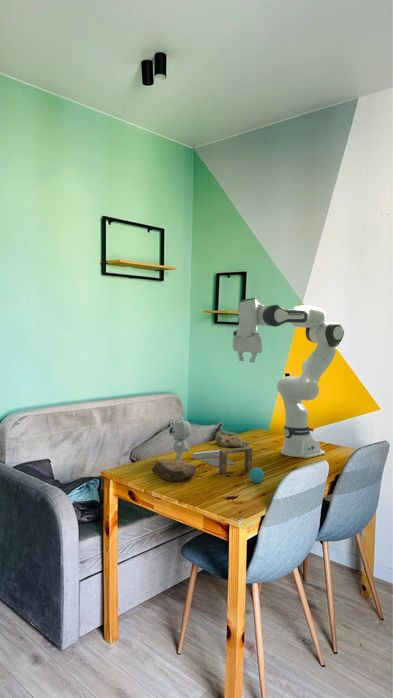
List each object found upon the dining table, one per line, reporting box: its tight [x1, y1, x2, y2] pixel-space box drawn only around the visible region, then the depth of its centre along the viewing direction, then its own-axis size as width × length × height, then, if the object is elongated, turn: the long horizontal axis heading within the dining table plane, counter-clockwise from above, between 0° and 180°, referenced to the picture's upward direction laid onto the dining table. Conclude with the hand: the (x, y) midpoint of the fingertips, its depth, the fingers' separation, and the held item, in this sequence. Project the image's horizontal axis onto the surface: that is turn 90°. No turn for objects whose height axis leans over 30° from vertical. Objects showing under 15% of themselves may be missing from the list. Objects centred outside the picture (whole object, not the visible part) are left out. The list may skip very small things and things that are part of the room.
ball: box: [248, 467, 265, 483], centre depth 192 cm, size 6×6×6 cm
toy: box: [169, 416, 192, 461], centre depth 222 cm, size 17×10×20 cm, turn 5°
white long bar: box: [192, 449, 221, 460], centre depth 230 cm, size 16×2×2 cm, turn 116°
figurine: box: [214, 431, 250, 448], centre depth 253 cm, size 12×8×20 cm
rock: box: [152, 458, 197, 482], centre depth 198 cm, size 20×7×15 cm
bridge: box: [218, 446, 253, 475], centre depth 207 cm, size 3×15×10 cm, turn 116°
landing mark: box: [201, 457, 237, 468], centre depth 221 cm, size 12×12×1 cm
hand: (246, 361), depth 223 cm, fingers open, 8 cm apart
